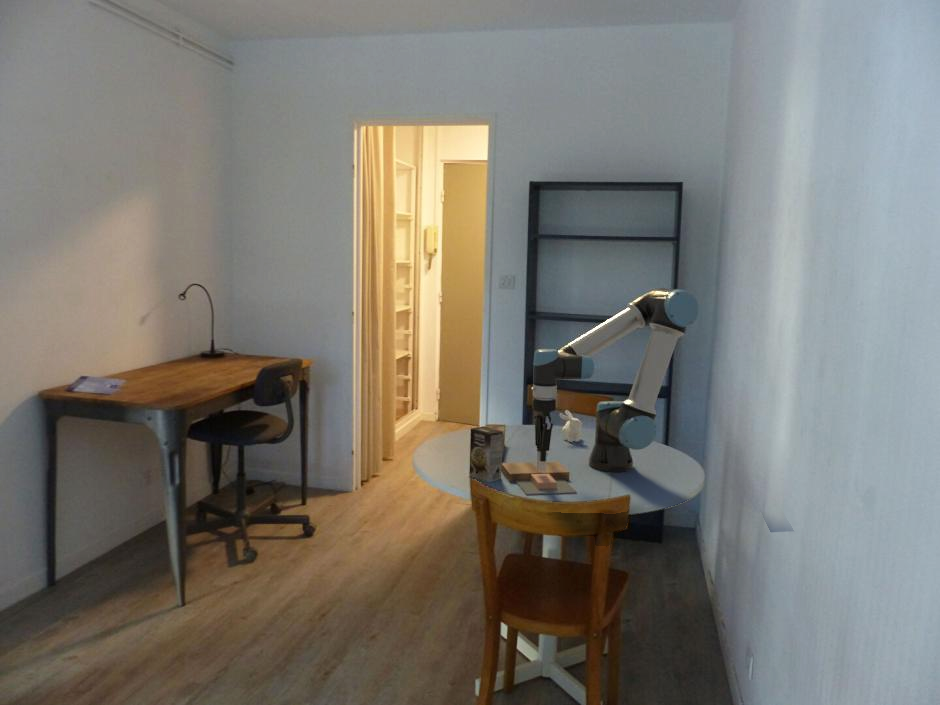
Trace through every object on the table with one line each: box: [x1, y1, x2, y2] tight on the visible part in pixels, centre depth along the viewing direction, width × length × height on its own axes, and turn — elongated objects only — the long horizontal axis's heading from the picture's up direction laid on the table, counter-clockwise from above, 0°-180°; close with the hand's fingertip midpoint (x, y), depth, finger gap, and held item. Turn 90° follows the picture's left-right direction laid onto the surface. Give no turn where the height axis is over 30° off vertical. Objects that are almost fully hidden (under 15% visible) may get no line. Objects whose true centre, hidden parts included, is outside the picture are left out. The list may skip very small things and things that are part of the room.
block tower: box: [485, 423, 506, 458], centre depth 257 cm, size 8×8×29 cm
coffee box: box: [468, 425, 503, 483], centre depth 226 cm, size 9×6×16 cm
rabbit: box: [559, 409, 583, 443], centre depth 281 cm, size 12×9×12 cm
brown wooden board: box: [501, 461, 570, 483], centre depth 231 cm, size 20×12×3 cm, turn 100°
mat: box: [515, 479, 578, 496], centre depth 219 cm, size 16×13×1 cm
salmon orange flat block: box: [531, 474, 557, 489], centre depth 221 cm, size 9×6×2 cm, turn 10°
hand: (541, 470), depth 224 cm, fingers closed
